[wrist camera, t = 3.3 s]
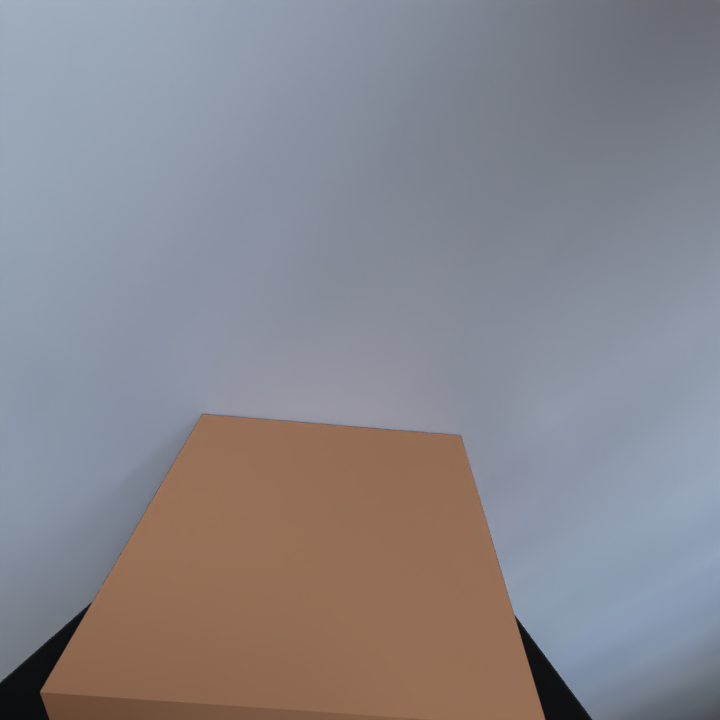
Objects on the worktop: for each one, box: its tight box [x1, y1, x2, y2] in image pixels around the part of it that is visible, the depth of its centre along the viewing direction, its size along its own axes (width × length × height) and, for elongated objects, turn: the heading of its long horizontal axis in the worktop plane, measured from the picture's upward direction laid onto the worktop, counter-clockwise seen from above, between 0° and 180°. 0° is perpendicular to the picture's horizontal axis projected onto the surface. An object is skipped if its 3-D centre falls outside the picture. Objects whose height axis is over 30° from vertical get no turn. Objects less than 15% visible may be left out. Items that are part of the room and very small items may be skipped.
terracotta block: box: [40, 414, 545, 720], centre depth 8 cm, size 5×5×5 cm
